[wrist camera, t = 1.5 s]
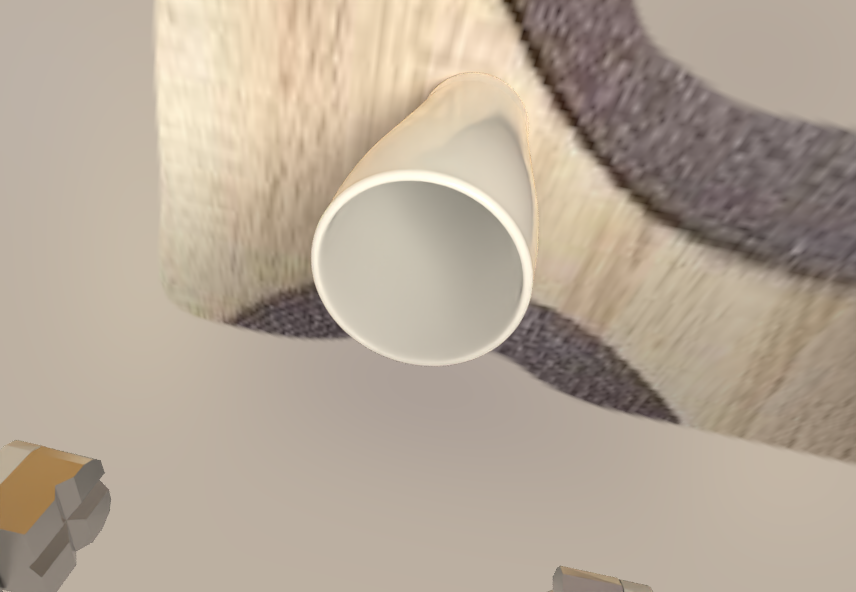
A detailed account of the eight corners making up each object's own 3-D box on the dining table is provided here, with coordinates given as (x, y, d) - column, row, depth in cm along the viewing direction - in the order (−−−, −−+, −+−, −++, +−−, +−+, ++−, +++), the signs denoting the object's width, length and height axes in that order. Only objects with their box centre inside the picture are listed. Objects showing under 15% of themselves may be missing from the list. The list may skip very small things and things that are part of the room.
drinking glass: (511, 208, 32) (483, 399, 20) (391, 161, 32) (287, 324, 20) (568, 84, 28) (578, 225, 16) (432, 30, 28) (335, 130, 16)
